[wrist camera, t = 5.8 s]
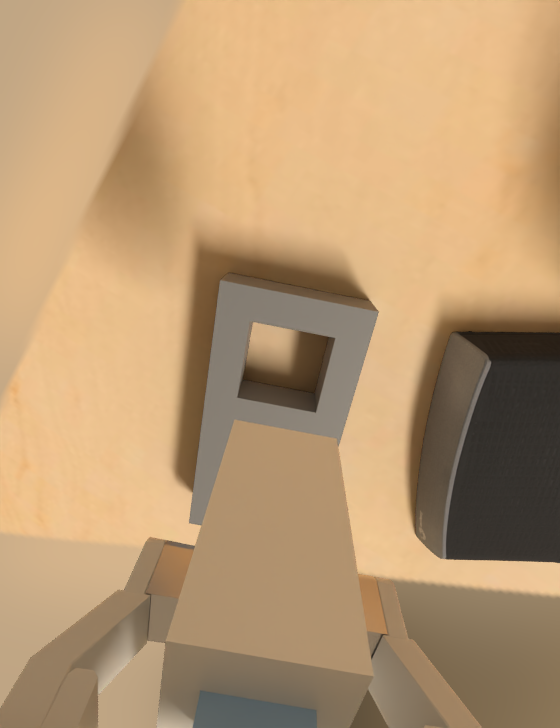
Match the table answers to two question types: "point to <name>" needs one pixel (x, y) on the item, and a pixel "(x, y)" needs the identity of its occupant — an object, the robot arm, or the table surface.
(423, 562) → the table surface
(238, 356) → the socket panel
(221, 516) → the plug
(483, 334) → the external hard drive
